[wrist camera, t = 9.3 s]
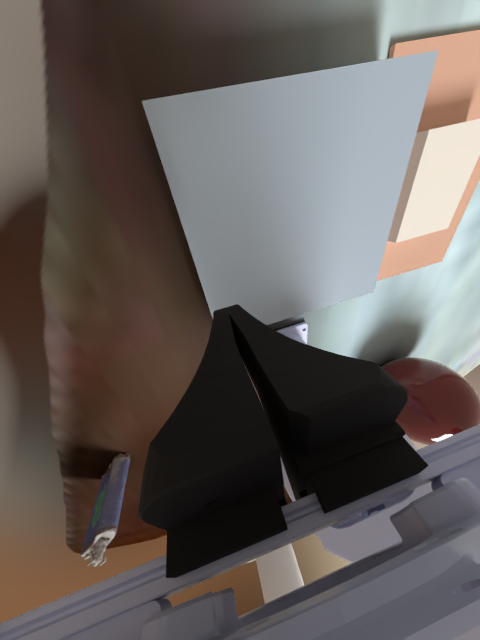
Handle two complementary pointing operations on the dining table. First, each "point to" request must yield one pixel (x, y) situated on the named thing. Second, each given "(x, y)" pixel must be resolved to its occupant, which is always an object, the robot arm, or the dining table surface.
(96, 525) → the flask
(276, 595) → the white tall block
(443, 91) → the mat
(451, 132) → the tile
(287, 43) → the dining table surface
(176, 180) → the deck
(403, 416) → the round-bottom flask
